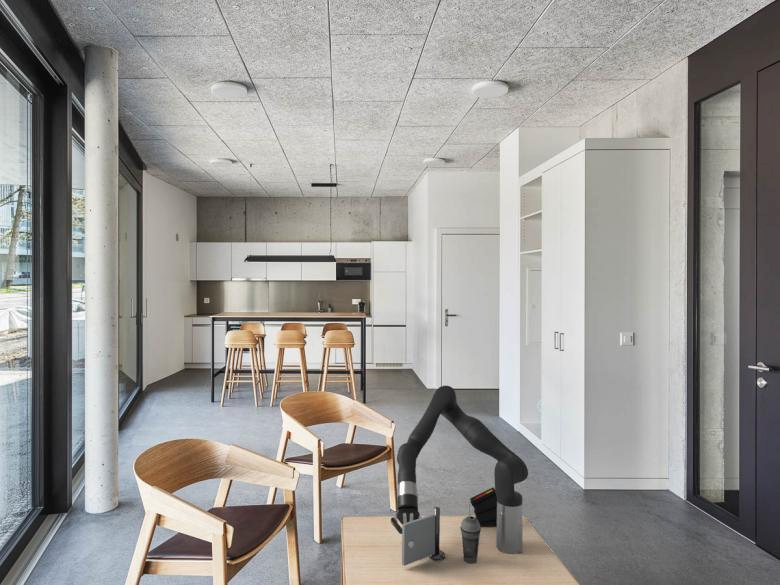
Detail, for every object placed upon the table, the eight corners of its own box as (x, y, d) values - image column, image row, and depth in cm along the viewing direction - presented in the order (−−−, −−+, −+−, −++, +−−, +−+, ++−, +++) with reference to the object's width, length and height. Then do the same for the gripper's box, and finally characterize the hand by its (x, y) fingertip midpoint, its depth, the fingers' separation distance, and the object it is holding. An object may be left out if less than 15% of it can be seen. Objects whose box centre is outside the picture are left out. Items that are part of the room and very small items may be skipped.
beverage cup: (467, 567, 194) (468, 510, 193) (455, 558, 200) (456, 502, 199) (484, 563, 197) (485, 506, 196) (472, 553, 203) (473, 499, 203)
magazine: (511, 522, 226) (496, 489, 225) (482, 537, 225) (466, 504, 224) (509, 518, 229) (493, 486, 229) (480, 533, 229) (464, 500, 228)
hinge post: (445, 553, 204) (446, 505, 203) (444, 561, 198) (444, 512, 197) (429, 551, 205) (429, 504, 204) (427, 559, 199) (427, 510, 198)
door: (432, 552, 201) (433, 513, 201) (437, 555, 199) (437, 516, 199) (401, 564, 192) (402, 524, 192) (406, 567, 191) (406, 526, 190)
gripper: (424, 501, 210) (426, 549, 198) (389, 501, 210) (389, 549, 198) (425, 492, 204) (428, 542, 193) (389, 492, 204) (389, 542, 192)
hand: (408, 545), depth 195 cm, fingers closed
